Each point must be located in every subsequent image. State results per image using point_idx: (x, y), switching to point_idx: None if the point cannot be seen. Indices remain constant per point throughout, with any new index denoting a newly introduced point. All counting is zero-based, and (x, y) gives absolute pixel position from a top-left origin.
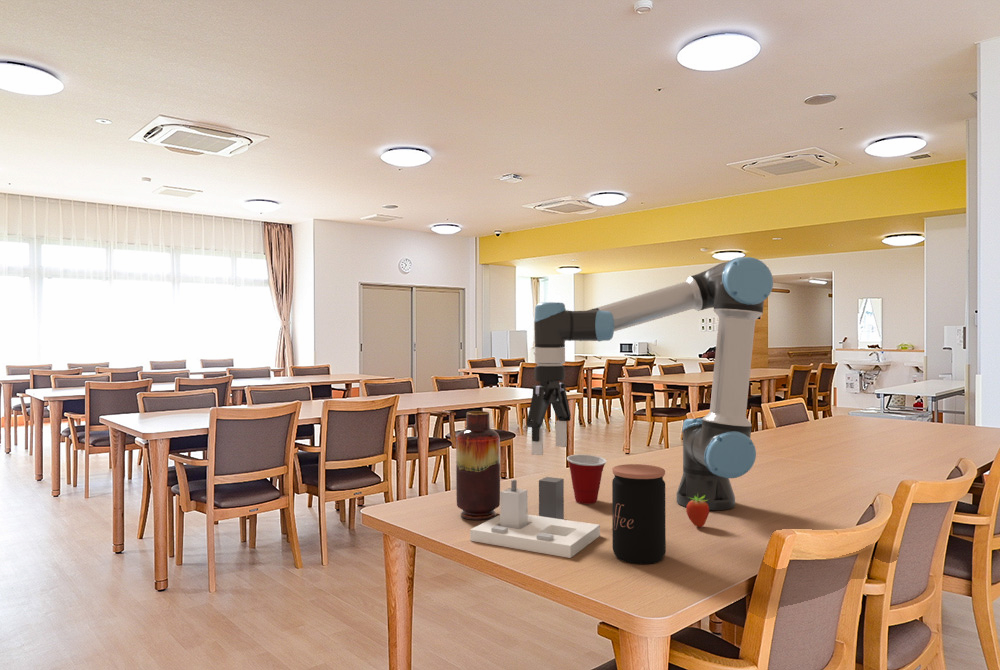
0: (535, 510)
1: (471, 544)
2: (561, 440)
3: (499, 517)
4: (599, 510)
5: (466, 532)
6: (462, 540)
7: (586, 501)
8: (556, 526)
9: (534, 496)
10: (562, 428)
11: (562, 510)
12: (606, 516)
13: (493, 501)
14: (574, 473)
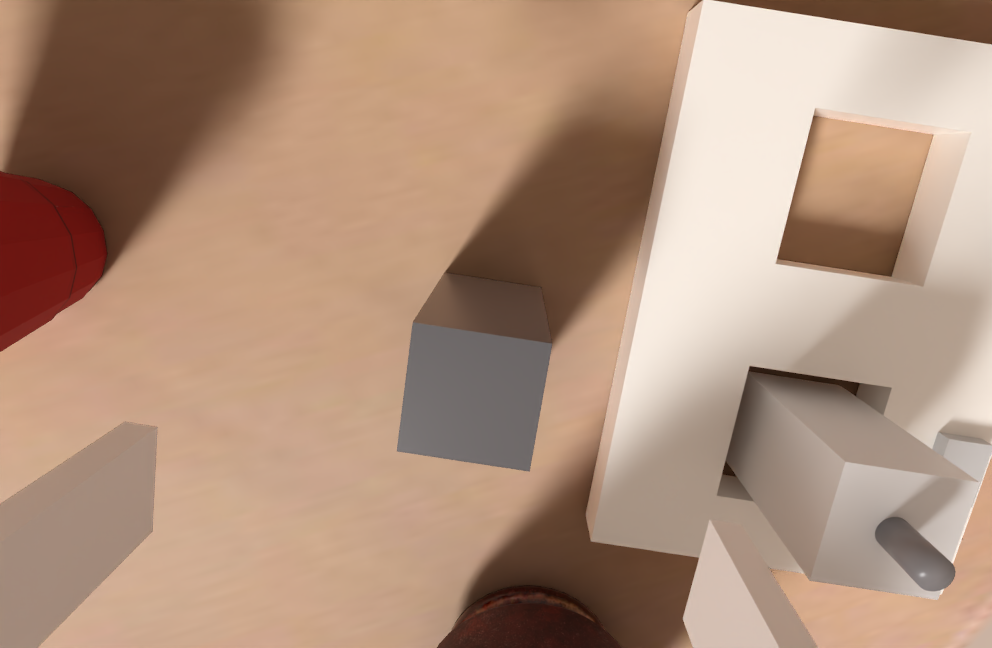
0: (342, 447)
1: None
2: (115, 504)
3: None
4: (200, 125)
5: None
6: None
7: (97, 228)
8: (782, 231)
9: None
10: (3, 584)
11: (456, 283)
12: (306, 58)
13: (581, 636)
14: (1, 335)
